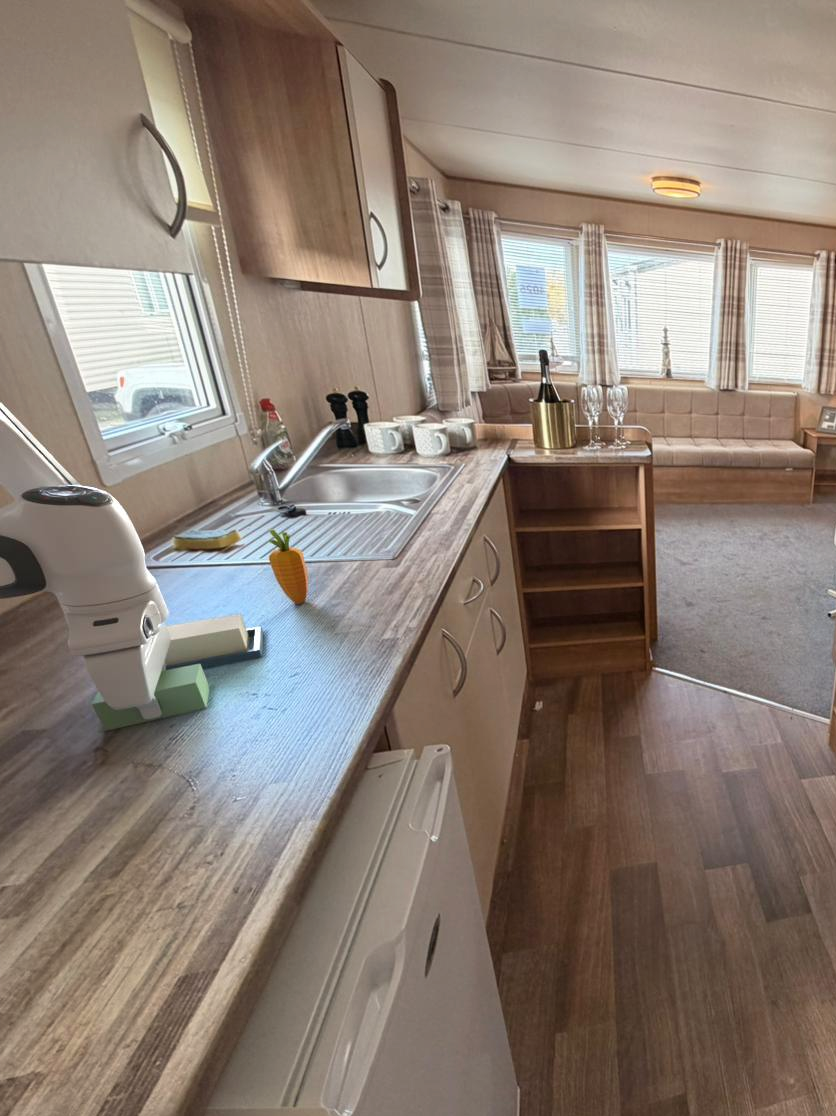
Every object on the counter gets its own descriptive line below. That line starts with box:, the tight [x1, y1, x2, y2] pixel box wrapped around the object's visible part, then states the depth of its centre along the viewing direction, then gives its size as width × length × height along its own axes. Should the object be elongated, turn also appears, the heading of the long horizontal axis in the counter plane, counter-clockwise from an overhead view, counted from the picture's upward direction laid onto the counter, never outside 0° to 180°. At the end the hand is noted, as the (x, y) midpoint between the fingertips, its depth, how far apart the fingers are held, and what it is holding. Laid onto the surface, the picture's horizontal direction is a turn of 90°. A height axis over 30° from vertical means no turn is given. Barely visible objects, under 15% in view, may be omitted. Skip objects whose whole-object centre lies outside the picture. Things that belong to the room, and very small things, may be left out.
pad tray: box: [166, 625, 264, 670], centre depth 101 cm, size 14×10×2 cm
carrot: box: [268, 529, 309, 605], centre depth 116 cm, size 5×5×15 cm
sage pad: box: [91, 664, 211, 732], centre depth 87 cm, size 10×6×5 cm, turn 126°
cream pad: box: [165, 613, 251, 666], centre depth 100 cm, size 10×6×5 cm, turn 126°
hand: (158, 702), depth 87 cm, fingers closed on sage pad, 6 cm apart
